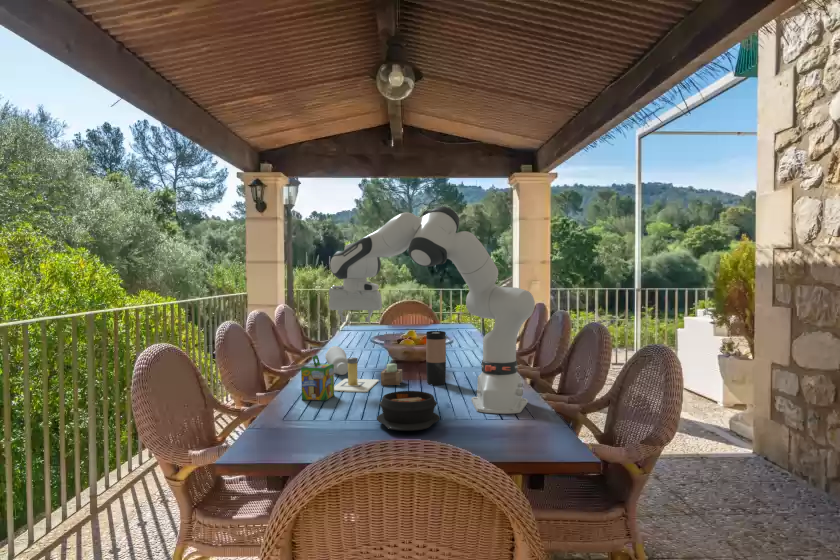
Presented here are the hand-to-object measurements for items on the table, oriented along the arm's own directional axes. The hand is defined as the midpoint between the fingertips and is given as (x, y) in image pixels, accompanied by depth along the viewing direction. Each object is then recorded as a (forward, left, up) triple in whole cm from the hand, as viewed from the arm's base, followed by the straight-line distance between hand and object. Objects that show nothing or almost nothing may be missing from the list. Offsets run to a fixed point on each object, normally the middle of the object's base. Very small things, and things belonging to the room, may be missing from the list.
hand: (355, 321), depth 227 cm
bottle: (+27, +16, -25) cm, 40 cm away
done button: (+5, -13, -23) cm, 27 cm away
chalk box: (-21, +8, -25) cm, 33 cm away
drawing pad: (-1, 0, -24) cm, 25 cm away
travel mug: (+8, -30, -25) cm, 40 cm away
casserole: (-49, -29, -25) cm, 62 cm away
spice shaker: (-1, +1, -24) cm, 24 cm away
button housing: (+5, -13, -24) cm, 28 cm away
